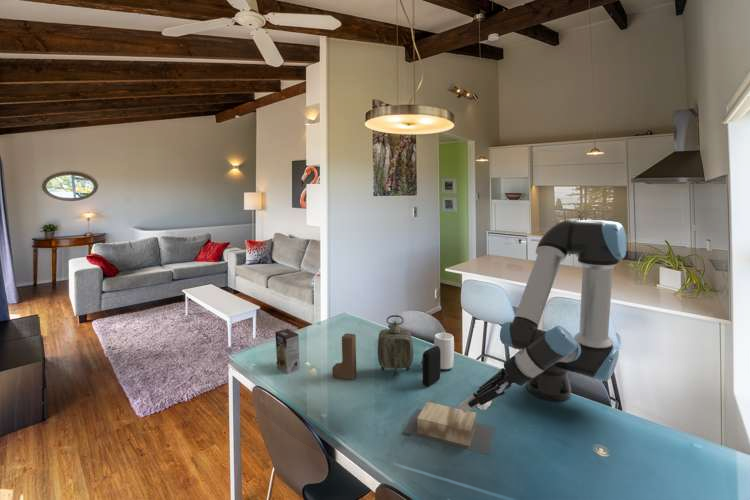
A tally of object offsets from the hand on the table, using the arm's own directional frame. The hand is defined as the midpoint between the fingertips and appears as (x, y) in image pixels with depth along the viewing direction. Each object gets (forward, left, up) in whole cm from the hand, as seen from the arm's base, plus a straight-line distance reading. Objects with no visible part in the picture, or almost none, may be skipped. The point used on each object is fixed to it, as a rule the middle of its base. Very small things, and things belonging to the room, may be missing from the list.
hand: (462, 408), depth 118 cm
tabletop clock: (+34, -30, -9) cm, 46 cm away
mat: (+4, -1, -9) cm, 10 cm away
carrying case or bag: (+18, -27, -9) cm, 34 cm away
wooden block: (+52, -19, -9) cm, 56 cm away
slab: (-3, 0, -6) cm, 7 cm away
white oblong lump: (-3, -22, -10) cm, 24 cm away
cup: (+17, -43, -9) cm, 47 cm away
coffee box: (+78, -16, -9) cm, 80 cm away
